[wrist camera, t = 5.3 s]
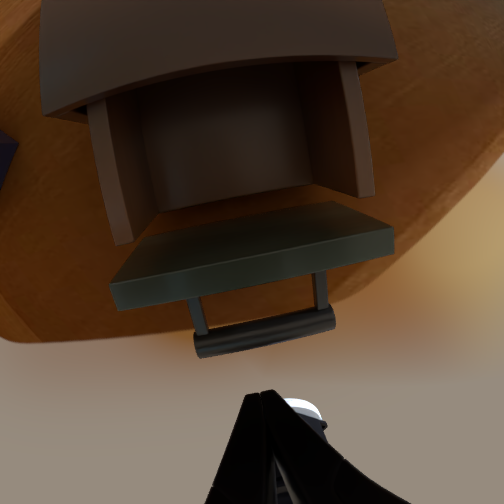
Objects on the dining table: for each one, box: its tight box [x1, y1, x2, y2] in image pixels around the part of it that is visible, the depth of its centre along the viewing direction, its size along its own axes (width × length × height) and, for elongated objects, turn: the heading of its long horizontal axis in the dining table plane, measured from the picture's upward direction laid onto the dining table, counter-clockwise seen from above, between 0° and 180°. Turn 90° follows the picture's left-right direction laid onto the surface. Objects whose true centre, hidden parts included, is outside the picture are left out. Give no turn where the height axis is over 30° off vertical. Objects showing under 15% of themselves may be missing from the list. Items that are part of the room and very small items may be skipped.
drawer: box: [86, 61, 394, 358], centre depth 13 cm, size 18×11×7 cm, turn 10°
